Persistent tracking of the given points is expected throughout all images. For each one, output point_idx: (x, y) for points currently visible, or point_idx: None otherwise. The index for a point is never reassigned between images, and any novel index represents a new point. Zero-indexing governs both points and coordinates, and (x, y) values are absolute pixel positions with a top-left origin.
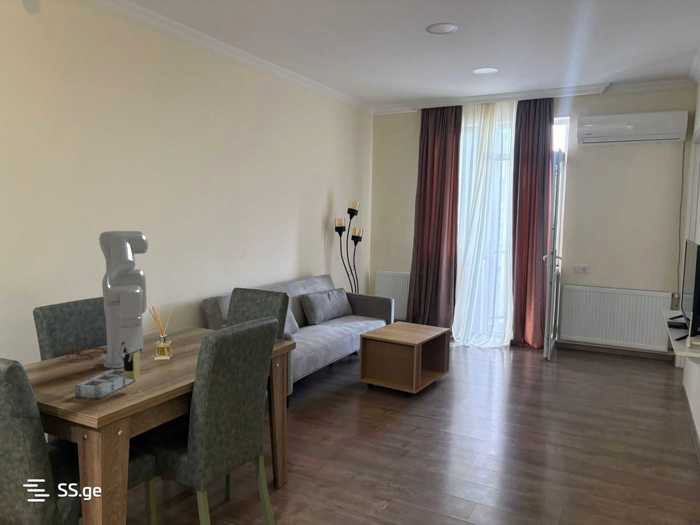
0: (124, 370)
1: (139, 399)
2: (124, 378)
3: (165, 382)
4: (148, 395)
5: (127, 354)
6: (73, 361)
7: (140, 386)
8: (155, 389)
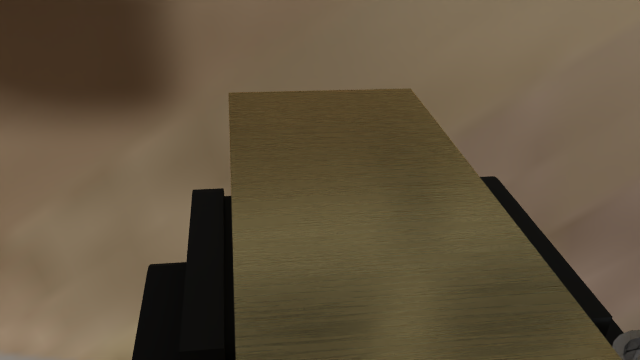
0: (192, 197)
1: (58, 324)
2: (229, 96)
3: (595, 250)
4: None
5: None
6: None
7: (453, 90)
8: None
